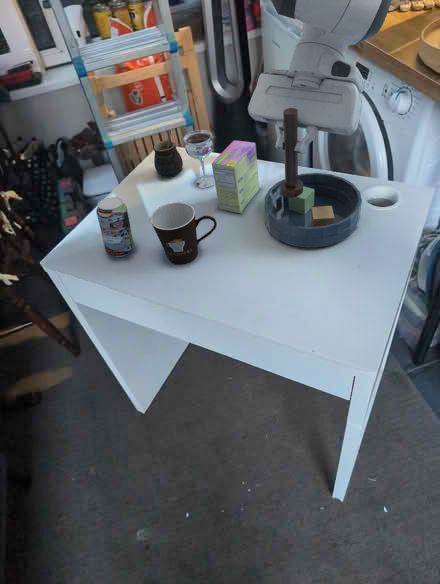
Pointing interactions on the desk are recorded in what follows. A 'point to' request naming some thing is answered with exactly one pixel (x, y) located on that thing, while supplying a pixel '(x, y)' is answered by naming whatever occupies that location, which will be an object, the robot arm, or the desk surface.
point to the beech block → (322, 216)
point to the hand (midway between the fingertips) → (289, 150)
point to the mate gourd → (167, 158)
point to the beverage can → (115, 227)
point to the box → (236, 176)
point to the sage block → (302, 201)
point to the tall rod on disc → (291, 155)
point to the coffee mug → (179, 231)
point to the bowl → (298, 225)
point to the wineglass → (200, 152)
